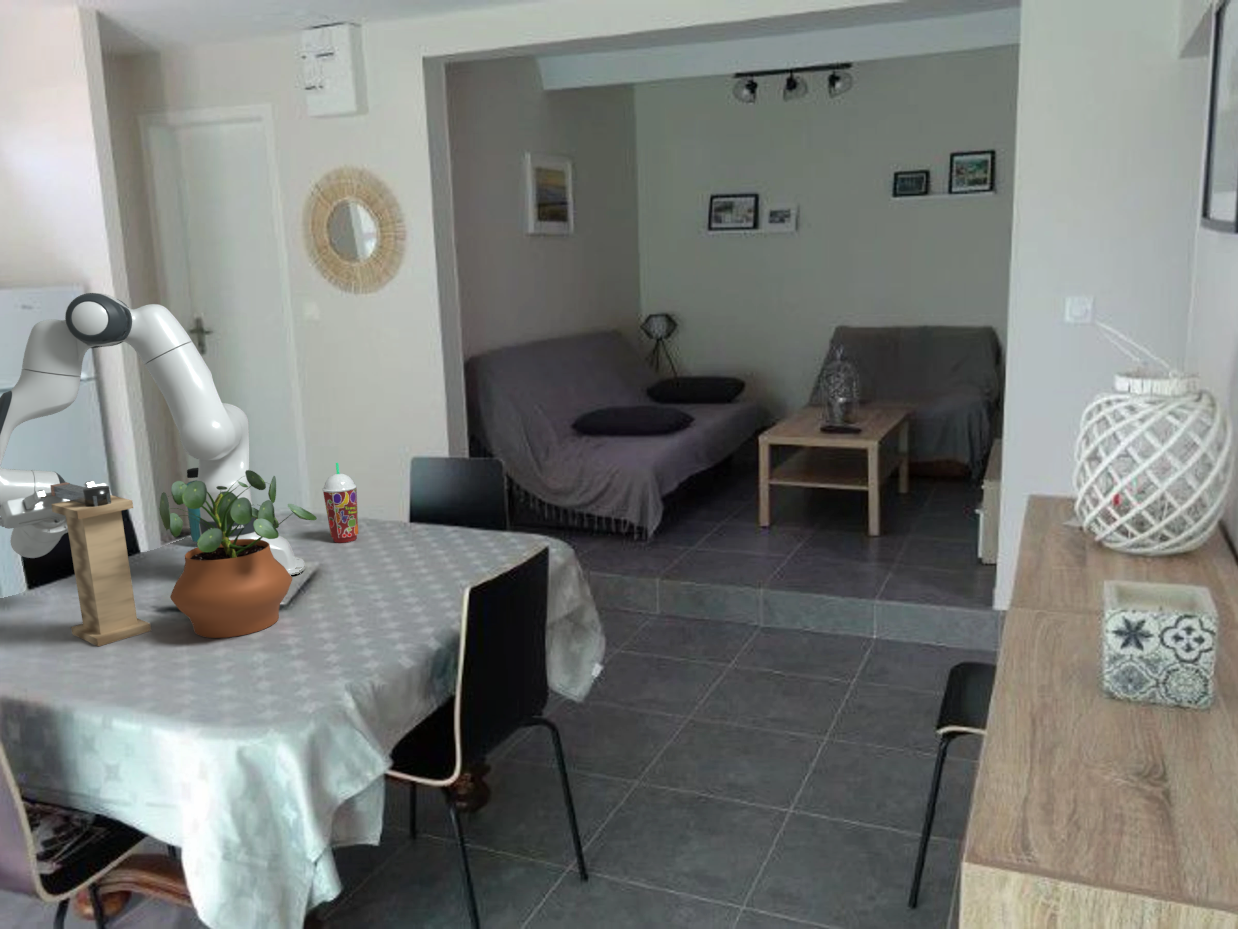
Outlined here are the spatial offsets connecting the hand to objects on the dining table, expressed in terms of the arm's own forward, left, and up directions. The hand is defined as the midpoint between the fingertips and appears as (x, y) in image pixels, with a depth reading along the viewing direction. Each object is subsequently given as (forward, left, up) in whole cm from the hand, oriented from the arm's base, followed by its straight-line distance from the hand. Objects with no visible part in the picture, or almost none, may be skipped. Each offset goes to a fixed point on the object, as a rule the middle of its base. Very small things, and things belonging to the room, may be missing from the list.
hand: (66, 489), depth 202 cm
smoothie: (-54, -41, -28) cm, 73 cm away
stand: (-6, +10, -27) cm, 30 cm away
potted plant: (-32, +16, -28) cm, 45 cm away
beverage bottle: (-20, -56, -28) cm, 65 cm away
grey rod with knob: (-3, +5, -1) cm, 6 cm away
